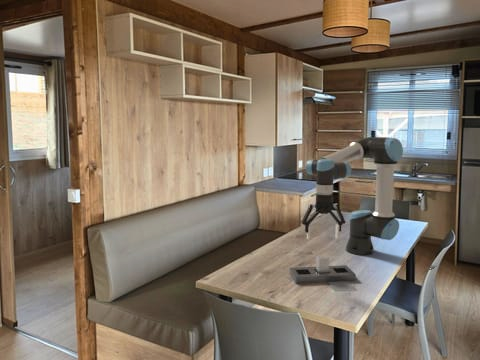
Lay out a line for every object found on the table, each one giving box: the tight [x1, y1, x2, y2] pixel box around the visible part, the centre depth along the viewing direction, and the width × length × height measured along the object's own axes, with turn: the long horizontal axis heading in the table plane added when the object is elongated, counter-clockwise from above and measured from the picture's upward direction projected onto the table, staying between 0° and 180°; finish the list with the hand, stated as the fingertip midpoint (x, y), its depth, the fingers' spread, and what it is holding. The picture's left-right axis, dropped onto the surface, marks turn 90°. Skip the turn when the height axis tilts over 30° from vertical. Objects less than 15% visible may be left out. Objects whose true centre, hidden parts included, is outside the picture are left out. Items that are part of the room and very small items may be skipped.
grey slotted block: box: [289, 264, 357, 285], centre depth 194 cm, size 28×12×4 cm, turn 96°
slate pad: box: [327, 281, 358, 292], centre depth 184 cm, size 10×10×1 cm
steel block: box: [315, 254, 330, 274], centre depth 193 cm, size 5×5×10 cm
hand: (322, 238), depth 191 cm, fingers open, 13 cm apart
